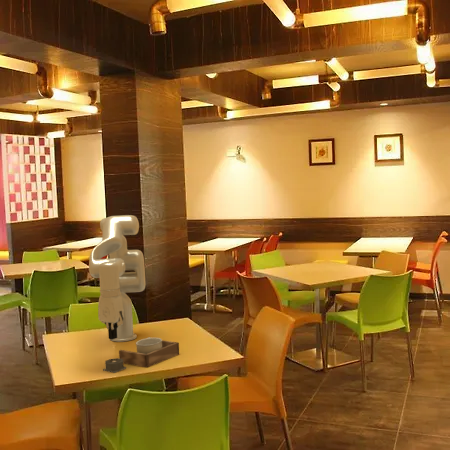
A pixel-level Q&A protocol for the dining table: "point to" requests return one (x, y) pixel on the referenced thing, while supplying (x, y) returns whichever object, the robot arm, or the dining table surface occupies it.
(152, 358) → the bay
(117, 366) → the wheel
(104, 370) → the axle mount
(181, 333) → the dining table surface
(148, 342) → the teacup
